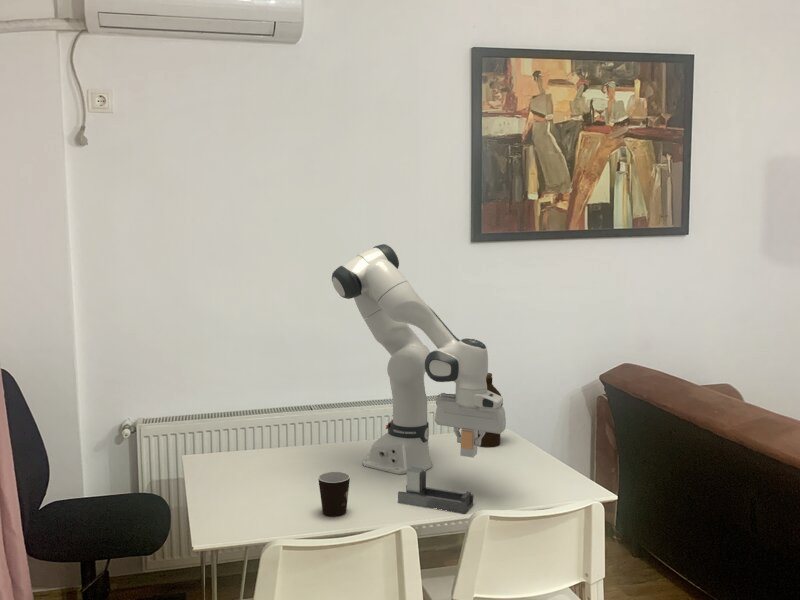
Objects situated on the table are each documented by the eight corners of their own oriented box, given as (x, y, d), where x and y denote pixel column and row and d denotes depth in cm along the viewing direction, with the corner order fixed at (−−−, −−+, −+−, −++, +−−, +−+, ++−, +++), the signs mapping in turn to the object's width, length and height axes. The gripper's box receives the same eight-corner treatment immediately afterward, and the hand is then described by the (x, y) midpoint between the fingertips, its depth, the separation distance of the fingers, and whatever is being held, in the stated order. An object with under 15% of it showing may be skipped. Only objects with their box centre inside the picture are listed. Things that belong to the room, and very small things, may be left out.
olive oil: (484, 449, 263) (484, 378, 260) (465, 441, 272) (466, 372, 269) (508, 444, 269) (509, 374, 266) (489, 437, 278) (490, 369, 275)
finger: (472, 458, 217) (473, 431, 216) (459, 456, 218) (460, 429, 217) (477, 453, 221) (478, 426, 220) (464, 451, 222) (465, 424, 221)
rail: (397, 502, 216) (397, 471, 215) (407, 494, 223) (407, 464, 222) (465, 513, 208) (465, 481, 207) (473, 504, 215) (473, 473, 214)
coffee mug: (337, 521, 204) (337, 484, 203) (312, 514, 208) (311, 478, 207) (362, 506, 214) (362, 471, 212) (337, 500, 218) (337, 466, 217)
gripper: (432, 394, 218) (430, 441, 220) (502, 403, 211) (500, 452, 212) (440, 389, 224) (438, 435, 226) (508, 398, 216) (506, 445, 218)
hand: (468, 443), depth 219 cm, fingers closed on finger, 4 cm apart
